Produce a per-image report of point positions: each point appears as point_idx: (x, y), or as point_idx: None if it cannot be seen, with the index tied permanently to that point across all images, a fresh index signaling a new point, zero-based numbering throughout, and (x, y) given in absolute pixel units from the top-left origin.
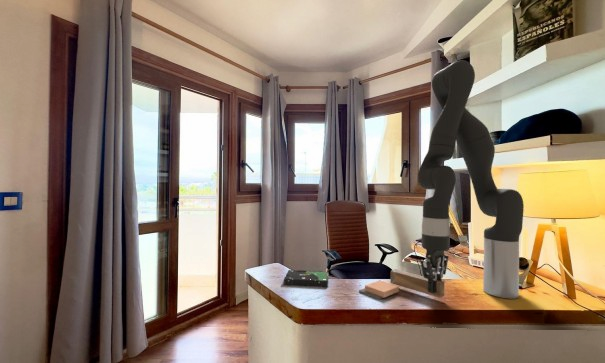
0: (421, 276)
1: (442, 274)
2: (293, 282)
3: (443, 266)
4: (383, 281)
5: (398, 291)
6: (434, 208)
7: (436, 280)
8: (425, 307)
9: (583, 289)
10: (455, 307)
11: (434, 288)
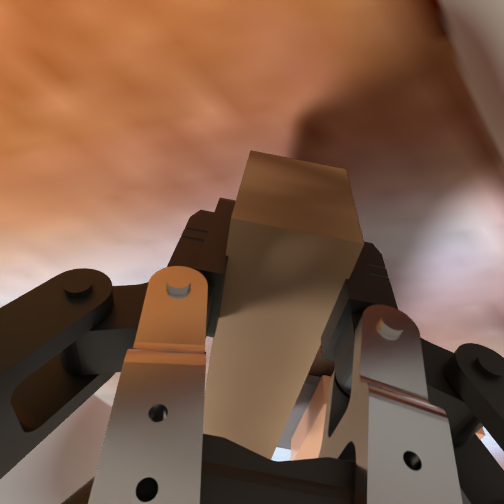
0: (222, 391)
1: (168, 297)
2: None
3: (147, 413)
4: (298, 455)
5: (327, 376)
6: None
7: (246, 290)
8: (484, 216)
9: None
10: (354, 10)
11: (361, 254)
